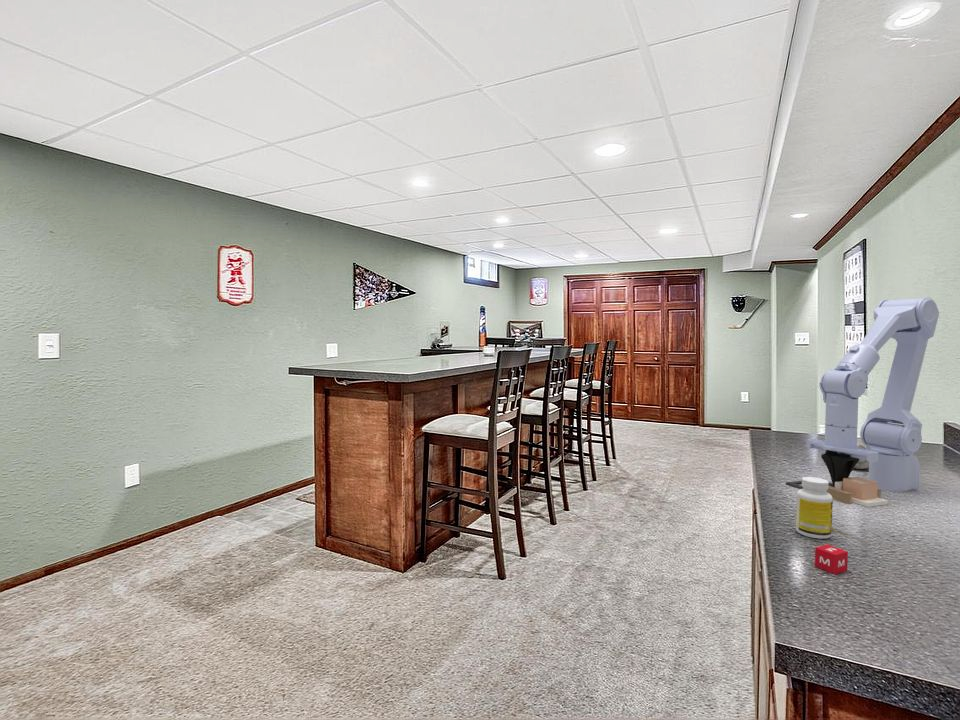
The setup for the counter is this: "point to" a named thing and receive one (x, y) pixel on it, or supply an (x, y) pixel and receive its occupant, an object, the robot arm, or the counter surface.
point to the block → (860, 487)
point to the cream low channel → (866, 503)
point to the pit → (798, 483)
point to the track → (844, 495)
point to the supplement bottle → (814, 509)
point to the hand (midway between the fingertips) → (839, 487)
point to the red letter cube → (831, 559)
